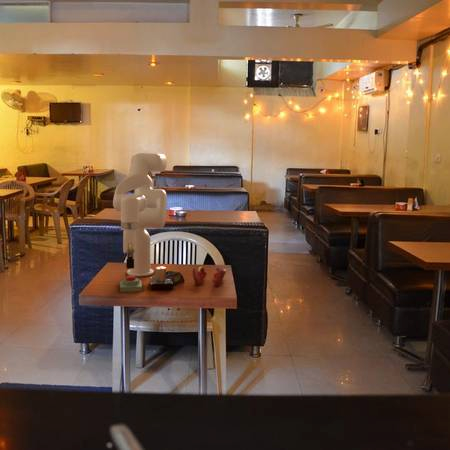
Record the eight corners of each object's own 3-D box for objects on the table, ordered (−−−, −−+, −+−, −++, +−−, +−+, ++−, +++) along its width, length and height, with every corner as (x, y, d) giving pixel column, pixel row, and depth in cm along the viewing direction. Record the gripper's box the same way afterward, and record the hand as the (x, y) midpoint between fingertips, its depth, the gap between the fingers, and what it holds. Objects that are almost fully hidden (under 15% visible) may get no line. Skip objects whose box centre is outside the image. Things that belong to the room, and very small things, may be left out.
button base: (120, 285, 226) (120, 276, 225) (140, 284, 227) (140, 276, 227) (120, 292, 216) (119, 283, 215) (141, 291, 218) (141, 282, 217)
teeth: (195, 262, 237) (227, 264, 235) (195, 278, 239) (227, 281, 236) (190, 268, 227) (223, 271, 224) (190, 285, 228) (223, 288, 226)
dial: (155, 278, 226) (155, 265, 225) (165, 278, 227) (165, 265, 226) (156, 281, 222) (156, 268, 221) (166, 281, 223) (166, 268, 222)
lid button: (125, 279, 222) (125, 275, 222) (135, 279, 223) (135, 275, 223) (126, 281, 219) (125, 277, 218) (135, 281, 219) (135, 277, 219)
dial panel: (149, 283, 230) (149, 276, 229) (170, 282, 231) (170, 275, 231) (151, 290, 219) (151, 283, 218) (172, 289, 221) (172, 282, 220)
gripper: (120, 223, 223) (121, 264, 226) (120, 228, 209) (121, 272, 211) (138, 223, 225) (138, 264, 227) (139, 228, 210) (139, 272, 213)
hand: (130, 268), depth 219 cm, fingers closed
